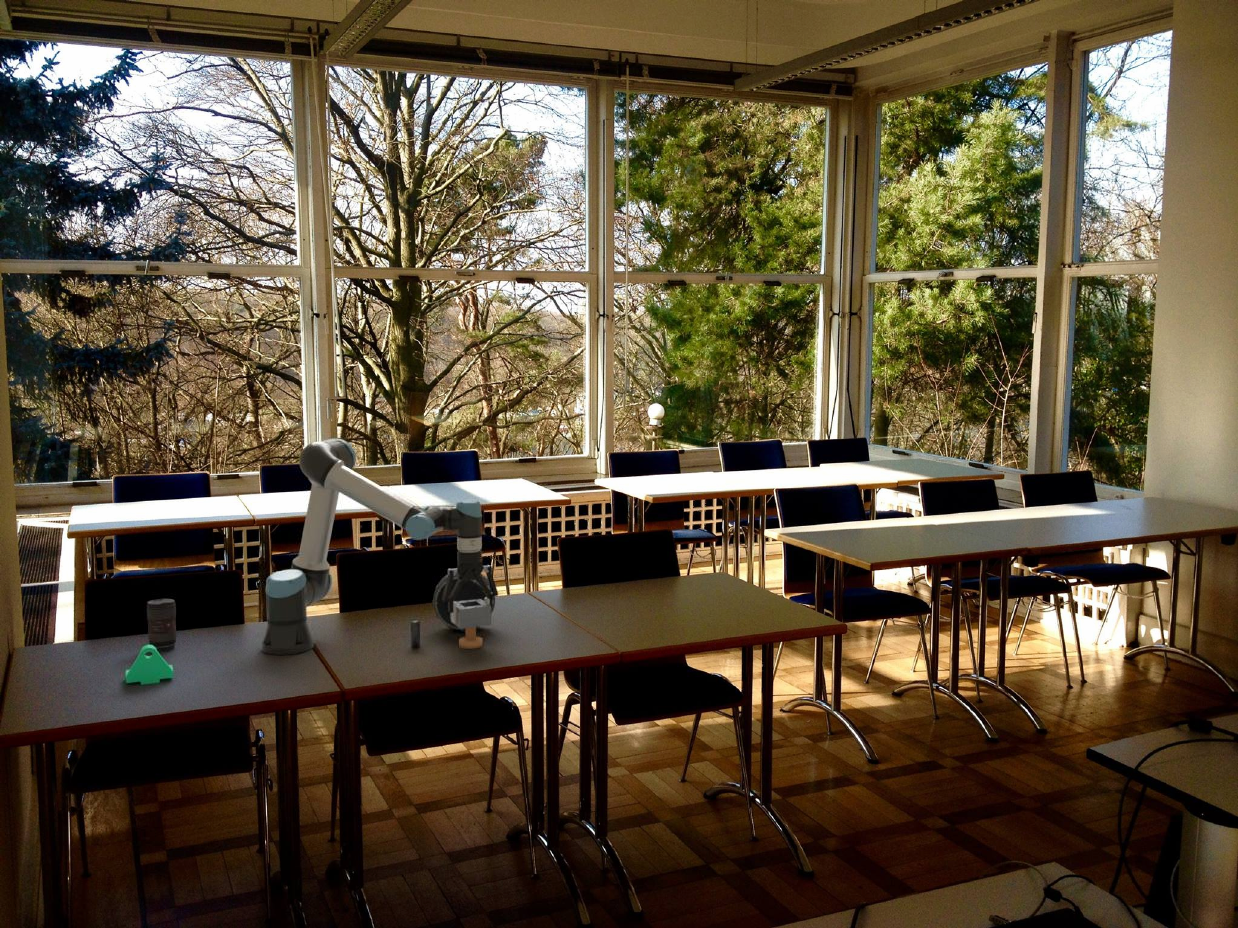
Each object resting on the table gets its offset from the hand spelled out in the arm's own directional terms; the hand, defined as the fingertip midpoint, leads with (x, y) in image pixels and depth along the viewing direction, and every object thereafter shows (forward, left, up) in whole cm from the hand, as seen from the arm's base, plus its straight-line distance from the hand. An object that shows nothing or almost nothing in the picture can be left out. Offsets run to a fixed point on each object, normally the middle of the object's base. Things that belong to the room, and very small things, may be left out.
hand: (470, 620), depth 330 cm
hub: (0, 0, -8) cm, 8 cm away
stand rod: (-17, 0, -8) cm, 19 cm away
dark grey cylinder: (-94, +3, -8) cm, 94 cm away
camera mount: (-88, -27, -8) cm, 92 cm away
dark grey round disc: (-3, +19, -8) cm, 21 cm away
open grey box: (0, 0, -1) cm, 1 cm away
